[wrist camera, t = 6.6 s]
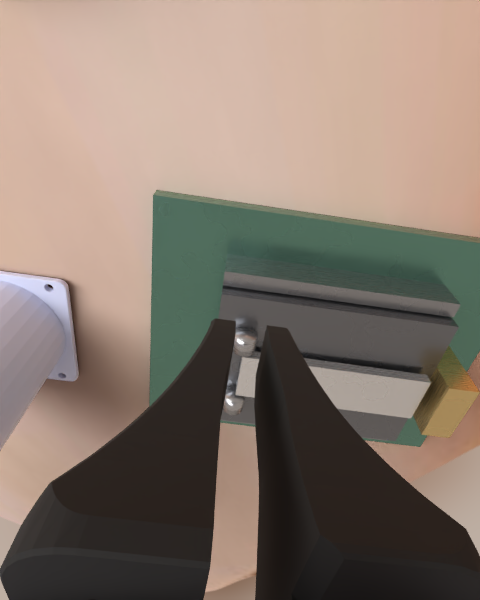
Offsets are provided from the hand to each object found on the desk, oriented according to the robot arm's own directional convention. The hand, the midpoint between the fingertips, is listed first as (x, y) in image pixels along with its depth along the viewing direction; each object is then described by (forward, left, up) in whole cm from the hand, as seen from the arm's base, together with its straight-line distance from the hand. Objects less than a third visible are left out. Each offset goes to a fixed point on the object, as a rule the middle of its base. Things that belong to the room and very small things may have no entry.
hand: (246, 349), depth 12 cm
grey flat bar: (+6, -7, -7) cm, 11 cm away
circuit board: (+5, -7, -10) cm, 13 cm away
